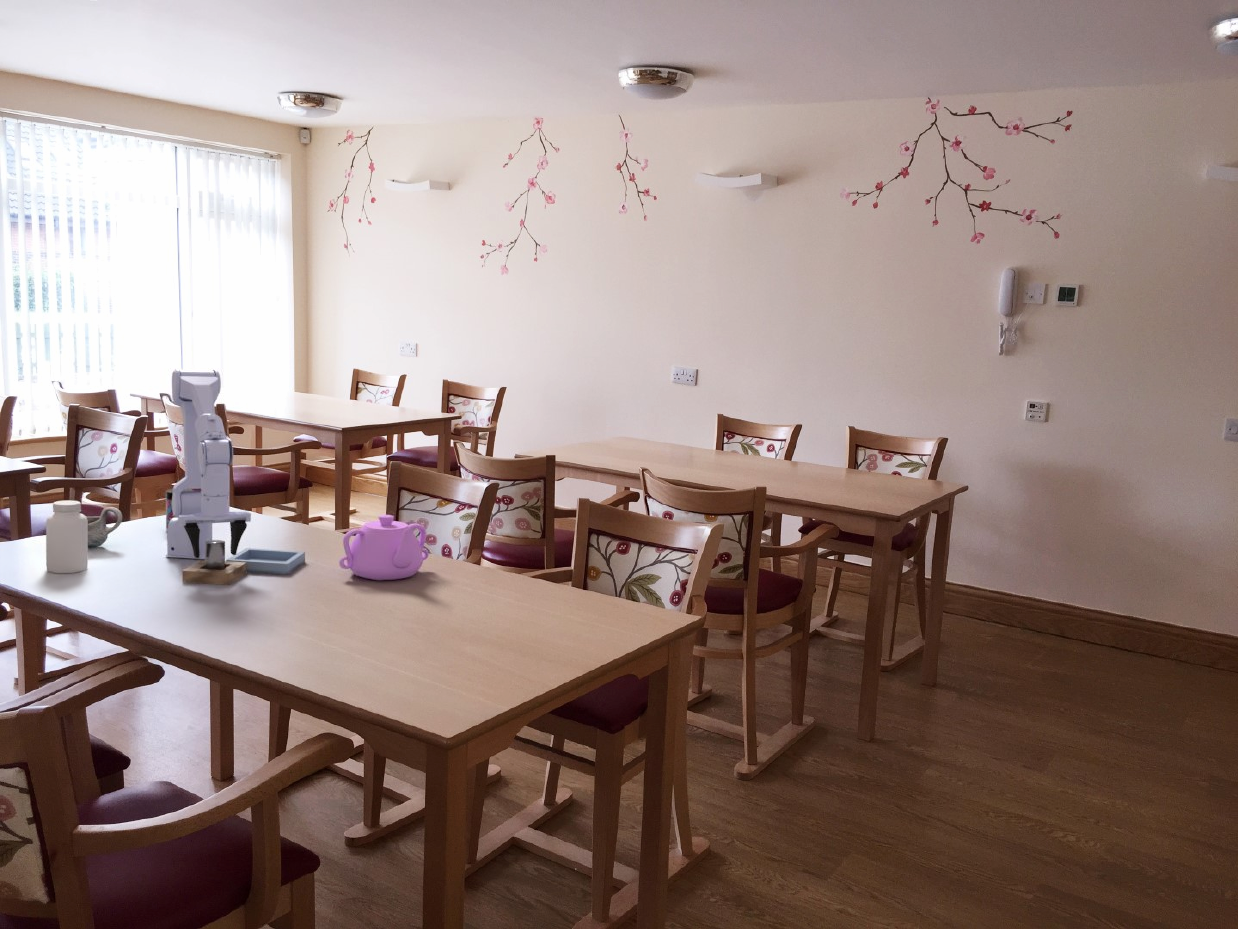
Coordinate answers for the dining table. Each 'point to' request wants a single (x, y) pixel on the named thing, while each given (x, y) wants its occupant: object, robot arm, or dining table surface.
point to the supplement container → (170, 505)
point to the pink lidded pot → (384, 549)
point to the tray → (269, 560)
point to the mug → (101, 527)
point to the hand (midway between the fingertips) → (215, 555)
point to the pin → (215, 554)
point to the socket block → (214, 573)
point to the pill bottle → (66, 538)
